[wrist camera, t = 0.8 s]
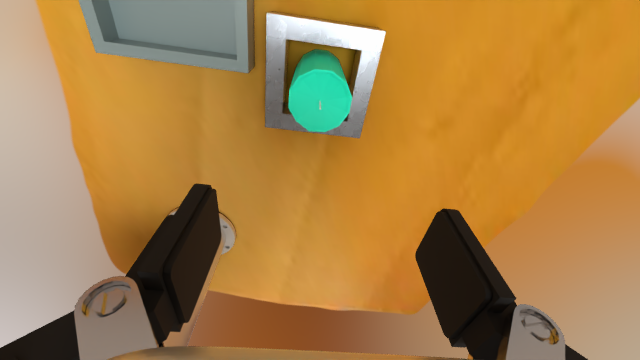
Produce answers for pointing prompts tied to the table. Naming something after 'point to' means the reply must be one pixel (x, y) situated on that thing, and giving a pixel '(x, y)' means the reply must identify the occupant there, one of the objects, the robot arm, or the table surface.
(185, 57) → the tray
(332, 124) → the candle
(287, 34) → the holder
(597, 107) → the table surface
